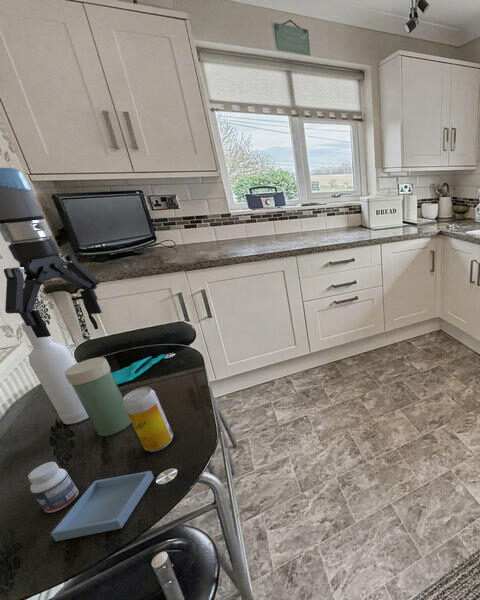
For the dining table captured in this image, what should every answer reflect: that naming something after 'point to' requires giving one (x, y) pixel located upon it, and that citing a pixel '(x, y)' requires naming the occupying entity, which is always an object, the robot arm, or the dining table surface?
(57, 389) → the bottle
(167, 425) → the beer can
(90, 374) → the flask lid
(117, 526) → the dish
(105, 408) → the flask
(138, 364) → the turquoise rubber glove
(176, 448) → the dining table surface
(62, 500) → the pill bottle
